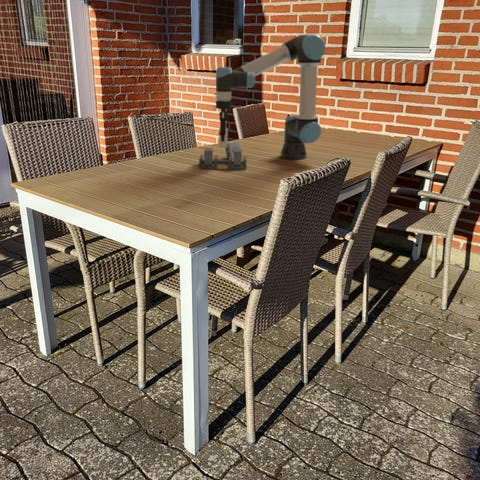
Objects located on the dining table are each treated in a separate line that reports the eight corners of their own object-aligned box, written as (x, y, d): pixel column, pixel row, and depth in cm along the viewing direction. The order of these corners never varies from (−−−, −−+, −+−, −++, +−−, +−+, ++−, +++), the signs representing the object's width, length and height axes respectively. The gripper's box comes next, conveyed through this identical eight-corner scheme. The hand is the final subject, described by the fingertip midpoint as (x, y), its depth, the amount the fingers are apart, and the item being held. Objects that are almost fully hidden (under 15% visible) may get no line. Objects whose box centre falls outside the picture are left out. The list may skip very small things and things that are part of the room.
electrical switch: (231, 160, 263) (230, 143, 260) (224, 159, 266) (223, 143, 263) (242, 157, 270) (241, 141, 267) (235, 157, 273) (234, 141, 270)
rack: (245, 164, 255) (246, 147, 251) (246, 170, 242) (246, 152, 239) (200, 163, 254) (200, 146, 251) (198, 169, 242) (198, 151, 238)
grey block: (227, 145, 248) (227, 127, 245) (226, 148, 241) (227, 130, 238) (219, 145, 248) (219, 127, 245) (218, 148, 241) (219, 129, 238)
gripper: (216, 98, 246) (216, 142, 254) (215, 102, 226) (214, 149, 235) (231, 98, 246) (230, 142, 254) (230, 102, 226) (229, 150, 235)
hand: (222, 146), depth 244 cm, fingers closed on grey block, 8 cm apart
